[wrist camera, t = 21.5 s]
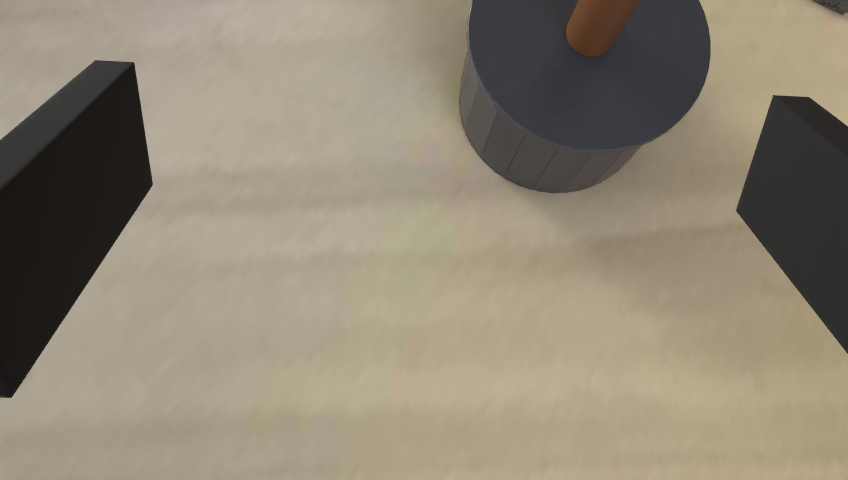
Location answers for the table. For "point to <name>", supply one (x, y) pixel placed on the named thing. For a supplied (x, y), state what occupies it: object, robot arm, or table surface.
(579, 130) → the lid
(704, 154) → the table surface
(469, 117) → the tin
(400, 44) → the table surface
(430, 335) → the table surface
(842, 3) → the sword in stone
